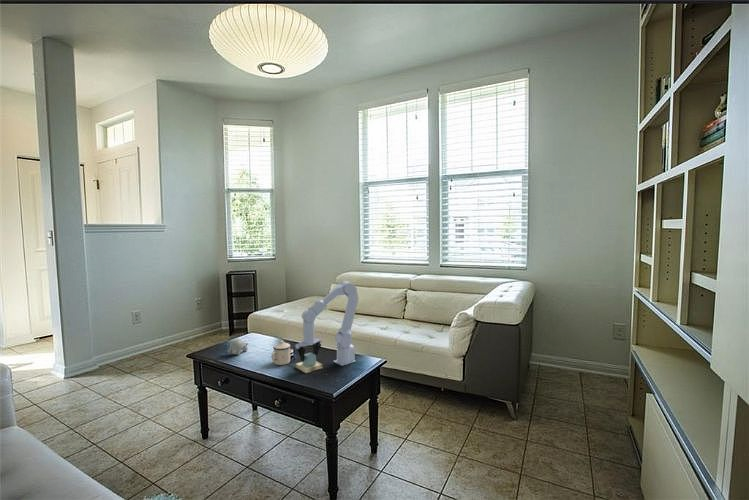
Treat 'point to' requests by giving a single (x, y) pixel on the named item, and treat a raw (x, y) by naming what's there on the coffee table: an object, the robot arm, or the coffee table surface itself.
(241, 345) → the chubby cartoon animal
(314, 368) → the maple base
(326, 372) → the coffee table surface
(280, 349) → the teacup with lid
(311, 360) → the teal cube
